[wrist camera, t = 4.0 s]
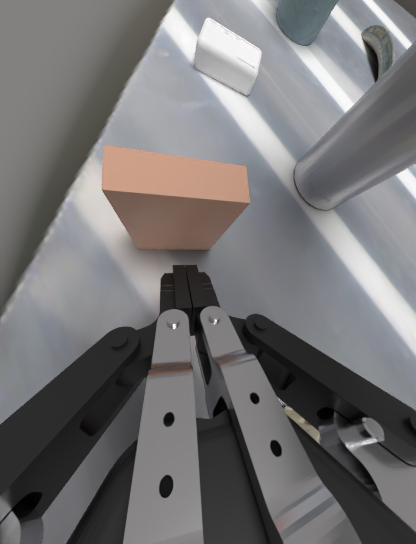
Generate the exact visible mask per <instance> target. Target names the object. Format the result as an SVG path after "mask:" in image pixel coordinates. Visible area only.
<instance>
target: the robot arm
mask: <svg viewBox="0 0 416 544" xmlns="http://www.w3.org/2000/svg"><path fill="white" fill-rule="evenodd" d="M414 164H416V41H415V42H414V43H413V44H412V45H411V46H410V47H409V48H408V49H407V51H406V52H405V53H404V54H403V55H402V56H401V57H400V58H399V59H398V60H397V61H396V62H395V63H394V64H393V65H392V66H391V67H390V68H389V69H388V70H387V71H386V72H385V73H384V74H383V75H382V76H381V77H380V78H379V79H378V80H377V81H376V83H375V84H374V85H373V86H372V87H371V88H370V89H369V90H368V91H367V92H366V93H365V94H364V95H363V96H362V97H361V98H360V99H359V100H358V101H357V102H356V103H355V104H354V105H353V106H352V107H351V108H350V109H349V110H348V111H347V112H346V113H345V115H344V116H343V117H342V118H341V119H340V120H339V121H338V122H337V123H336V124H335V125H334V126H333V127H332V128H331V129H330V130H329V131H328V132H327V133H326V134H325V135H324V136H323V137H322V138H321V139H320V140H319V141H318V142H317V143H316V144H315V145H314V146H313V147H312V148H311V149H310V151H309V152H308V153H307V154H306V155H305V156H304V157H303V158H302V159H301V160H300V161H299V162H298V164H297V165H296V168H295V173H294V176H295V183H296V186H297V188H298V191H299V192H300V194H301V195H302V197H303V198H304V199H305V200H306V201H307V202H308V203H309V204H311V205H312V206H314V207H316V208H318V209H321V210H329V209H332V208H334V207H336V206H338V205H340V204H342V203H343V202H345V201H347V200H349V199H351V198H353V197H355V196H357V195H358V194H360V193H362V192H364V191H366V190H368V189H370V188H372V187H374V186H375V185H377V184H379V183H381V182H383V181H385V180H387V179H388V178H390V177H392V176H394V175H396V174H398V173H400V172H401V171H403V170H405V169H407V168H409V167H411V166H413V165H414ZM189 332H190V336H194V335H195V338H196V353H197V357H198V362H199V366H200V370H201V374H202V378H203V383H204V387H205V398H206V405H207V410H208V414H209V419H203V418H196V411H195V395H194V379H193V368H192V365H191V354H190V336H189ZM145 377H147V382H146V389H145V395H144V402H143V409H142V416H141V423H140V430H139V437H138V439H137V440H136V441H135V442H134V443H133V444H132V445H131V446H130V447H128V448H127V449H126V451H125V452H124V453H123V454H122V455H121V456H120V458H119V459H118V460H117V462H116V463H115V464H114V466H113V467H112V469H111V470H110V472H109V473H108V475H107V476H106V478H105V480H104V481H103V483H102V485H101V486H100V488H99V490H98V491H97V493H96V495H95V496H94V498H93V500H92V501H91V503H90V505H89V506H88V508H87V510H86V511H85V513H84V515H83V516H82V518H81V520H80V521H79V523H78V525H77V526H76V528H75V530H74V531H73V533H72V535H71V536H70V538H69V540H68V541H67V543H66V544H416V411H415V410H414V409H412V408H411V407H409V406H407V405H406V404H404V403H403V402H401V401H399V400H398V399H396V398H395V397H393V396H391V395H390V394H388V393H387V392H385V391H383V390H382V389H380V388H378V387H377V386H375V385H374V384H372V383H370V382H369V381H367V380H366V379H364V378H362V377H361V376H359V375H358V374H356V373H354V372H353V371H351V370H350V369H348V368H346V367H345V366H343V365H342V364H340V363H338V362H337V361H335V360H334V359H332V358H330V357H329V356H327V355H325V354H324V353H322V352H321V351H319V350H317V349H316V348H314V347H313V346H311V345H309V344H308V343H306V342H305V341H303V340H301V339H300V338H298V337H297V336H295V335H293V334H292V333H290V332H289V331H287V330H285V329H284V328H282V327H280V326H279V325H277V324H276V323H274V322H272V321H271V320H269V319H268V318H266V317H264V316H262V315H259V314H252V315H249V316H248V317H247V318H246V320H245V319H240V318H234V317H231V316H229V315H228V314H227V313H226V312H225V311H224V310H223V309H222V308H220V305H219V303H218V300H217V297H216V294H215V291H214V289H213V286H212V284H211V280H210V277H209V276H208V275H207V274H206V273H205V272H198V268H197V265H185V266H184V265H173V273H164V275H163V276H162V278H161V289H160V314H159V316H158V318H157V320H156V321H155V322H154V323H152V324H151V325H149V326H147V327H145V328H142V329H139V330H137V331H136V330H135V329H134V328H132V327H119V328H116V329H114V330H112V331H110V332H109V333H107V334H106V335H105V336H104V337H103V338H101V339H100V340H99V341H98V342H97V343H96V344H94V345H93V346H92V347H91V348H90V349H89V350H87V351H86V352H85V353H84V354H83V355H81V356H80V357H79V358H78V359H77V360H76V361H74V362H73V363H72V364H71V365H70V366H69V367H67V368H66V369H65V370H64V371H63V372H61V373H60V374H59V375H58V376H57V377H56V378H54V379H53V380H52V381H51V382H50V383H49V384H47V385H46V386H45V387H44V388H43V389H42V390H40V391H39V392H38V393H37V394H36V395H34V396H33V397H32V398H31V399H30V400H29V401H27V402H26V403H25V404H24V405H23V406H22V407H20V408H19V409H18V410H17V411H16V412H15V413H13V414H12V415H11V416H10V417H9V418H7V419H6V420H5V421H4V422H3V423H2V424H0V544H41V543H42V539H43V521H42V518H41V517H42V516H43V514H44V513H45V511H46V510H47V509H48V507H49V506H50V505H51V503H52V502H53V501H54V499H55V498H56V497H57V495H58V494H59V493H60V491H61V490H62V489H63V487H64V486H65V484H66V483H67V482H68V480H69V479H70V478H71V476H72V475H73V474H74V472H75V471H76V470H77V468H78V467H79V466H80V464H81V463H82V462H83V460H84V459H85V458H86V456H87V455H88V453H89V452H90V451H91V449H92V448H93V447H94V445H95V444H96V443H97V441H98V440H99V439H100V437H101V436H102V435H103V433H104V432H105V431H106V429H107V428H108V426H109V425H110V424H111V422H112V421H113V420H114V418H115V417H116V416H117V414H118V413H119V412H120V410H121V409H122V408H123V406H124V405H125V404H126V402H127V401H128V399H129V398H130V397H131V395H132V394H133V393H134V391H135V390H136V389H137V387H138V386H139V385H140V383H141V382H142V380H143V379H144V378H145ZM277 397H278V398H280V399H281V400H282V401H283V402H284V403H286V404H287V405H288V406H289V407H290V408H292V409H293V410H294V411H295V412H296V413H298V414H299V415H300V416H301V417H302V418H304V419H305V420H306V421H307V422H308V423H309V424H311V425H312V426H313V427H314V428H315V429H317V430H318V431H319V434H320V436H319V442H320V444H319V443H318V442H317V441H316V440H315V439H313V438H312V437H311V436H310V435H309V434H308V433H307V432H306V431H305V430H304V429H302V428H301V427H300V426H299V425H298V424H297V423H296V422H295V421H294V420H293V419H291V418H290V417H289V416H288V415H286V413H285V412H284V410H283V408H282V406H281V404H280V402H279V400H278V398H277Z"/></svg>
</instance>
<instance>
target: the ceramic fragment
mask: <svg viewBox="0 0 416 544" xmlns="http://www.w3.org/2000/svg"><path fill="white" fill-rule="evenodd" d="M361 36H362V39H363V40H364V41H365V42H366V43H367V44H368V45H369V46H370V47H371V48H372V50H373V51H374V52H375V53H376V55H377V58H378V65H379V73H378V79H379V78H380V77H381V76H382V75H383V74H384V73H385V72H386V71H387V70H388V69H389V68H390V67H391V66H392V64H393V61H394V44H393V40H392V37H391V35H390V32H389V31H388V30H387V29H386V28H385V27H384V26H382V25H374V26H371V27H369V28H367V29H365V30H364V31H363V32H362V34H361Z"/></svg>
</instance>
